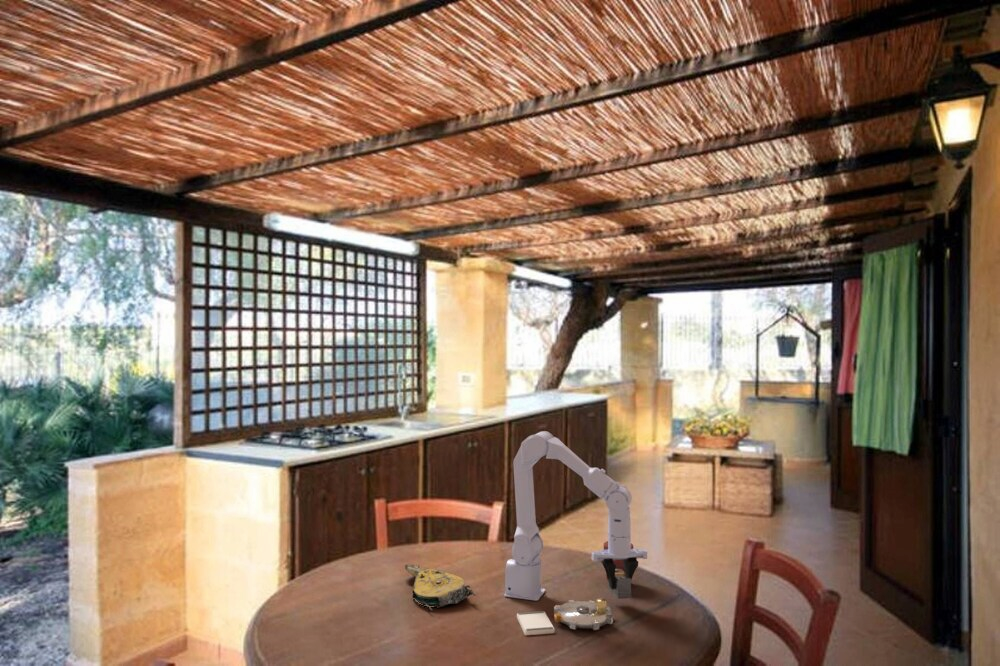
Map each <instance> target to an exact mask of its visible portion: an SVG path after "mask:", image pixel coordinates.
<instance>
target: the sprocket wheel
mask: <svg viewBox="0 0 1000 666" xmlns="http://www.w3.org/2000/svg"><path fill="white" fill-rule="evenodd" d="M553 610H554V611H553V613H554V614H553V616H554V617H553V620H554V622H556V623H562V624H564V625H567V626H568V627H569V629H572V630H576V629H578V628H579V629H592V630H593V631H597V630H600V627H602V626H605V625H606V624H609V625H612V624H613V622H614V615H612V608H611V607H610V606H608V604H607V599H606V598H602V597H600V598H596V601H595V600H591V599H590V600H589V601H583V600H578V601H577V600H576V601H575V600H574V599H570V600H567V602H566V603H563V604H561V605H559V604H555V606H553Z"/></svg>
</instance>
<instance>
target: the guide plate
mask: <svg viewBox="0 0 1000 666" xmlns="http://www.w3.org/2000/svg"><path fill="white" fill-rule="evenodd" d="M516 619H517V621H518V623H519V626H520V628H521V629H522V631H523V634H524V636H532V635H534V636H535V635H536V636H537V635H548V634H555V632H556V631H555V630H556V629H555V627H554V626H553V624H552V622H551V621H550V618H549V617H548V615H547V613H546V612H545V611H543V610H542V611H541V610H540V611H539V610H538V611H527V612H525V611H524V612H518V613H516Z"/></svg>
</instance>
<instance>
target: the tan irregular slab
mask: <svg viewBox="0 0 1000 666" xmlns="http://www.w3.org/2000/svg"><path fill="white" fill-rule="evenodd" d="M404 566H405V567H404V569H405V571H407V573H409V574H410V575H412V576H413V577H415V579H414V583H413V587H412V590H411V591H412V599H413V598H415V599H416V600H417V601H418V602H419V603H421V604H423V605H427V606H428V607H429V606H434V607H437V608H441V607H445V606H447V605H450V604H459V603H460V602H461V601H463V600H464V599H466V598H468V597H469V596H472V595H473V596H474V597H475V596H476V594H475V592H474V591H473V589H470V588H471V585H465V580H464V579H463V578H462V577H460V576H458V575H455V574H453V573H449V572H445V571H443V570H439V569H436V568H425V569H424V568H422V567H421V566H420V565H417V564H409V563H408V564H407V563H406V564H404ZM428 607H427V608H428ZM437 608H436V609H437ZM429 609H430V611H433V608H431V607H429Z"/></svg>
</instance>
